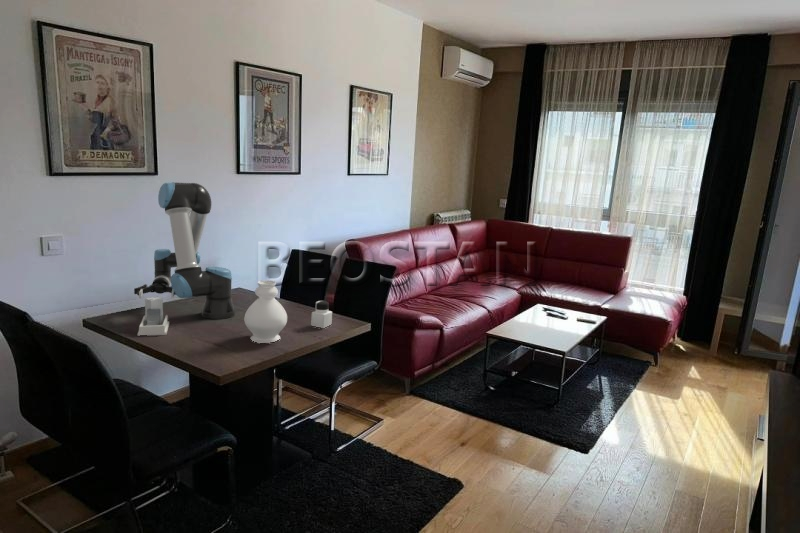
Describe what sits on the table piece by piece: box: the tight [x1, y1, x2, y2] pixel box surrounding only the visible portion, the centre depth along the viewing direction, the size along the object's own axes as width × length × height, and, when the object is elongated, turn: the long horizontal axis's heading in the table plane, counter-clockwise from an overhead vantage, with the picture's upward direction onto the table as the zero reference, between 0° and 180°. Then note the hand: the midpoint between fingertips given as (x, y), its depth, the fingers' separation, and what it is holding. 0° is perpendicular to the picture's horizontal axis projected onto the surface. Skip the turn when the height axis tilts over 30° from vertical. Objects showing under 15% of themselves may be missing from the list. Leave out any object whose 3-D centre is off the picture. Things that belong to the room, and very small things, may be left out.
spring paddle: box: [147, 309, 161, 326], centre depth 229 cm, size 5×1×8 cm, turn 109°
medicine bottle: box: [310, 300, 333, 329], centre depth 250 cm, size 7×7×12 cm
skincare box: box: [144, 295, 164, 325], centre depth 232 cm, size 6×4×12 cm
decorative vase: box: [243, 279, 288, 344], centre depth 226 cm, size 18×18×25 cm
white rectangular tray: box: [137, 314, 170, 337], centre depth 230 cm, size 11×16×4 cm
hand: (156, 295), depth 240 cm, fingers open, 13 cm apart
